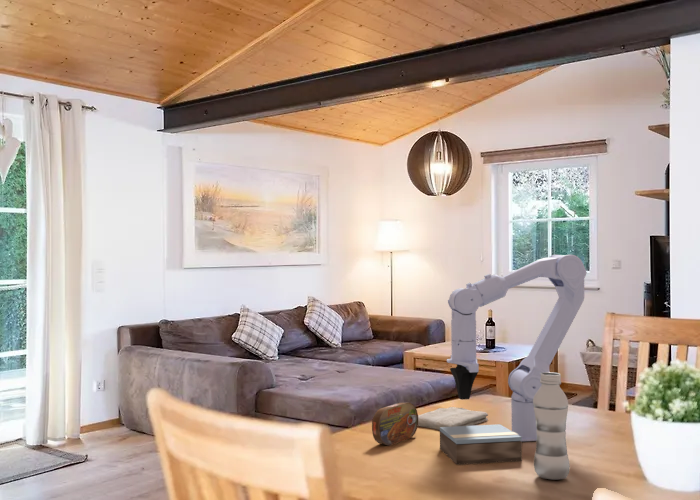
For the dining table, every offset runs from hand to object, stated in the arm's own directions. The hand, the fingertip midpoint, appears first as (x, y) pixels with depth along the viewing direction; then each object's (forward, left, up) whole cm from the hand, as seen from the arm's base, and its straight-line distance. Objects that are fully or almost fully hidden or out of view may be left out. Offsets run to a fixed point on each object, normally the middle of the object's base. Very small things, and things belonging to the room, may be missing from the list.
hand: (464, 398), depth 169 cm
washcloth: (-2, -17, -10) cm, 20 cm away
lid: (+1, +13, -5) cm, 14 cm away
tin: (+16, -2, -10) cm, 19 cm away
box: (+1, +13, -9) cm, 16 cm away
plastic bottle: (-7, +31, -10) cm, 33 cm away
